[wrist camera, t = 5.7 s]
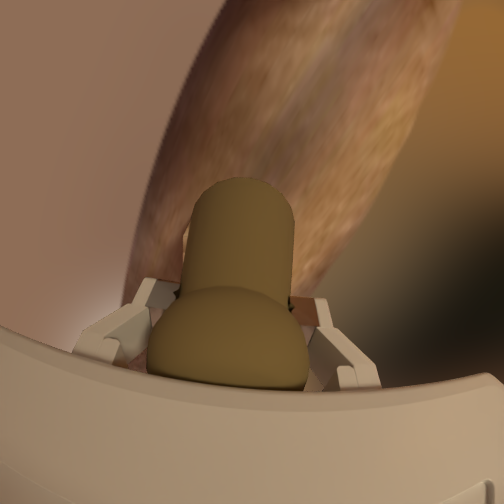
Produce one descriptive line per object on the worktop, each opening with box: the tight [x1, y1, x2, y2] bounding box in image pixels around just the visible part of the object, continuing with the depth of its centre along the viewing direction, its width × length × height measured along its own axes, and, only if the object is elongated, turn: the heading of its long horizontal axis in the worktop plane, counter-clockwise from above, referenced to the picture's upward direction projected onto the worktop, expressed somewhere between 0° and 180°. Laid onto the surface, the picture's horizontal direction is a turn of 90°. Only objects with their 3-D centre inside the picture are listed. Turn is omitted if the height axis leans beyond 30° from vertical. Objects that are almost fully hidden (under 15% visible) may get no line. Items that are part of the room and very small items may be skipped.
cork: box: [146, 178, 310, 391], centre depth 12 cm, size 6×6×11 cm
